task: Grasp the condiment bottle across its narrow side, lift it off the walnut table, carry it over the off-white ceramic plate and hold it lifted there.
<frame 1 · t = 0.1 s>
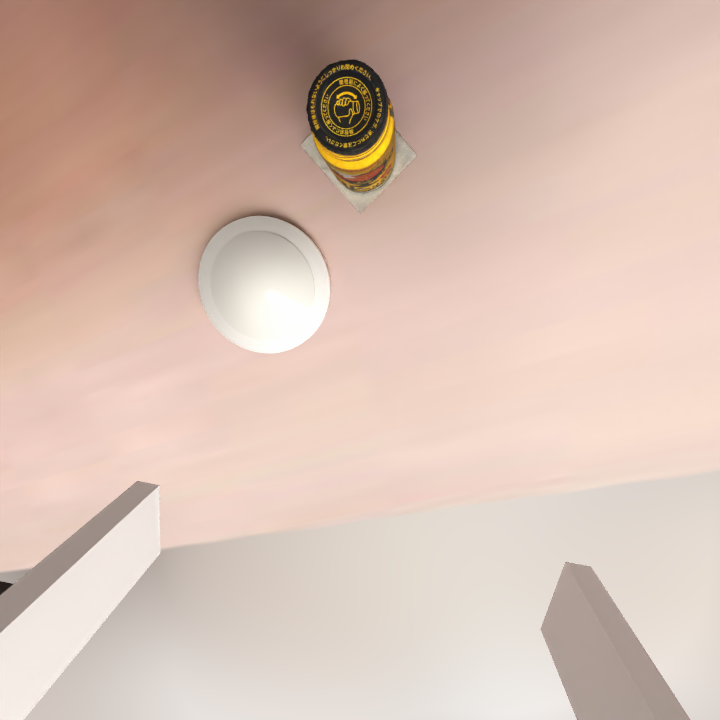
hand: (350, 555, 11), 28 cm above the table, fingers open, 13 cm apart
condiment: (358, 151, 34), on the table
plate: (266, 287, 38), on the table
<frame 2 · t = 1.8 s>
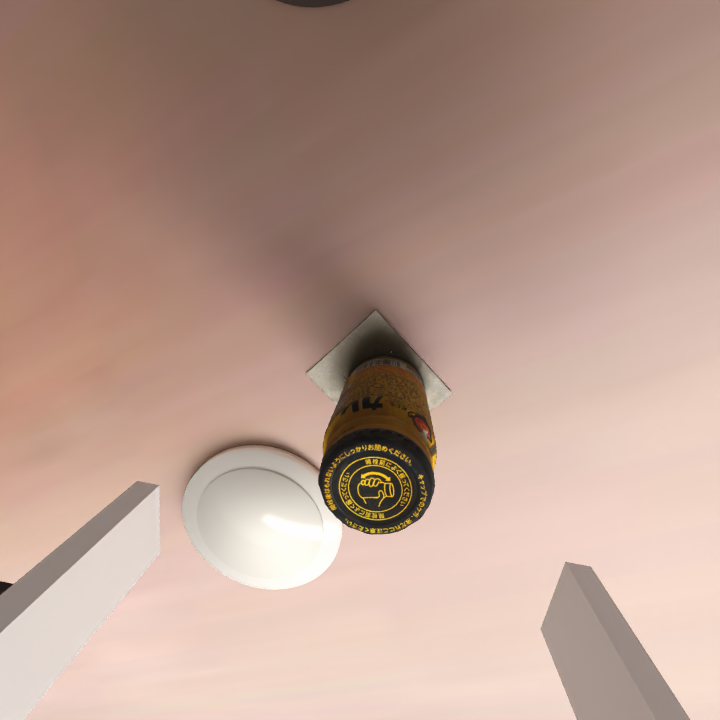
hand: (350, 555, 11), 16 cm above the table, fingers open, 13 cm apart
condiment: (378, 382, 27), on the table
plate: (264, 516, 31), on the table
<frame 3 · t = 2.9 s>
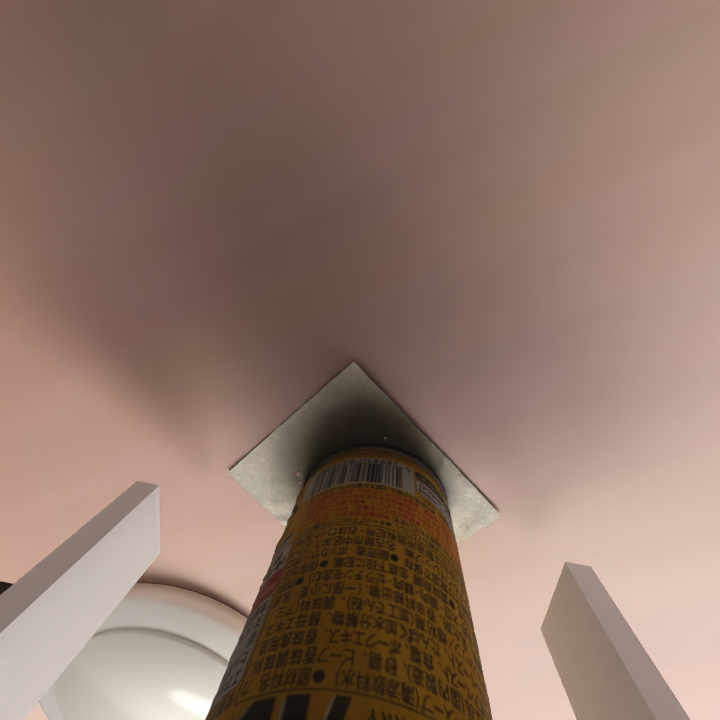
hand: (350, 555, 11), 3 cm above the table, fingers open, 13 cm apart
condiment: (361, 487, 15), on the table
plate: (175, 688, 19), on the table
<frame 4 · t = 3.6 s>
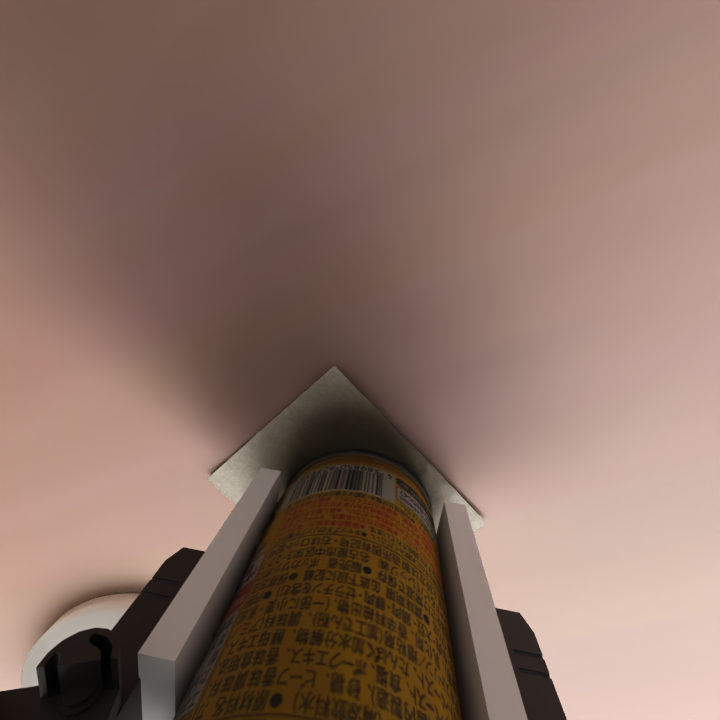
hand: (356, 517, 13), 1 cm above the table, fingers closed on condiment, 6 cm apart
condiment: (344, 494, 14), on the table, touching gripper
plate: (167, 701, 18), on the table
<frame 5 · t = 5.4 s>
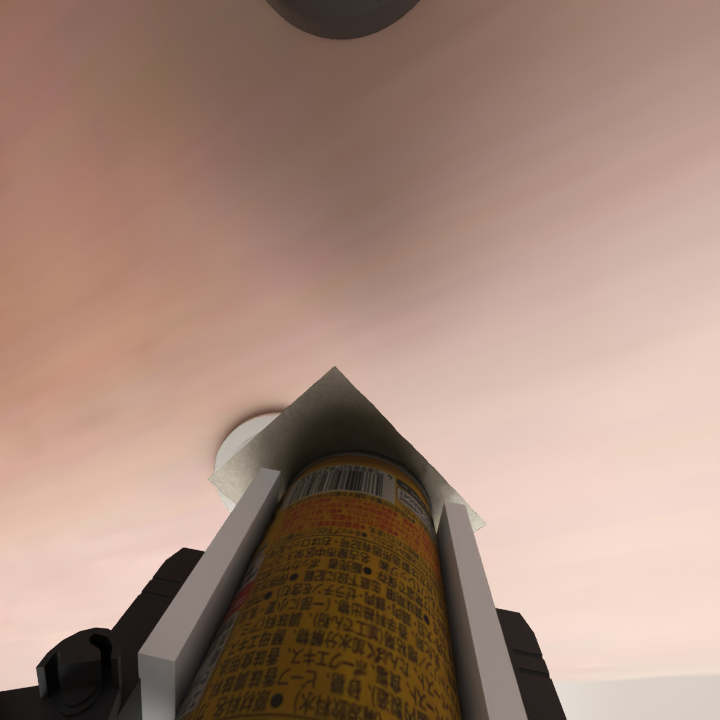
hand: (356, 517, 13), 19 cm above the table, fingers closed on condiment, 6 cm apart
condiment: (344, 494, 14), point 18 cm above the table, touching gripper
plate: (286, 476, 35), on the table
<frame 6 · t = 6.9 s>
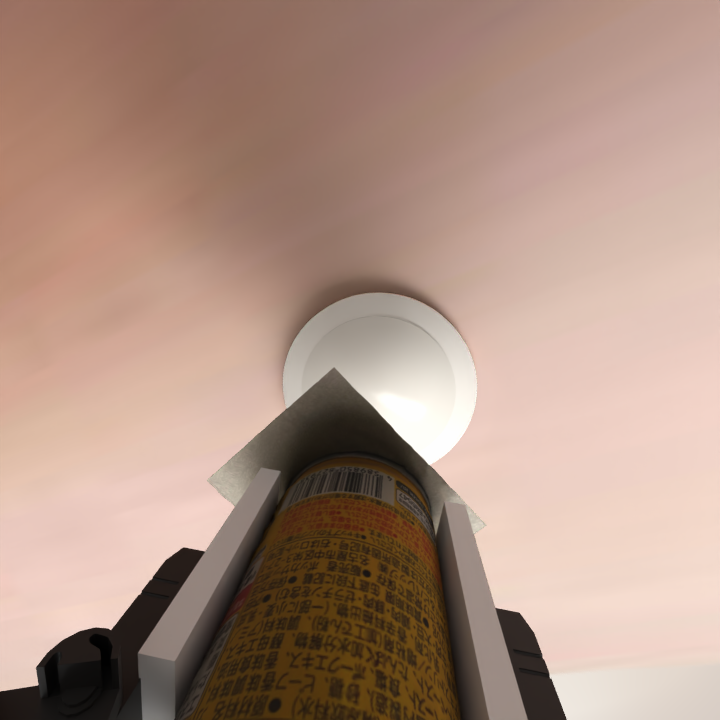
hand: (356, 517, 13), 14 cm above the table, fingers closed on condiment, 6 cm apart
condiment: (344, 495, 14), point 13 cm above the table, touching gripper
plate: (377, 387, 26), on the table
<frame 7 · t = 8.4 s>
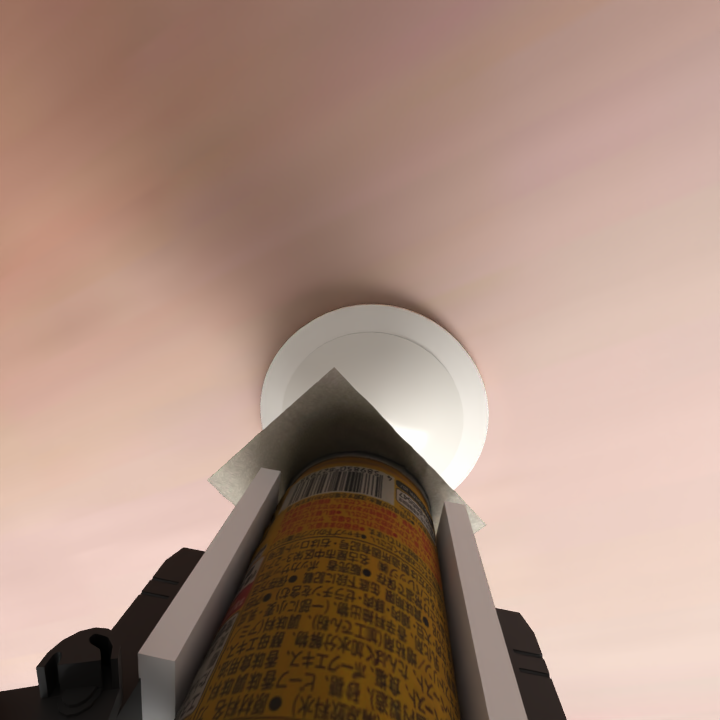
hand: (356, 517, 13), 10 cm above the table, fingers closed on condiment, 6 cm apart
condiment: (344, 495, 14), point 9 cm above the table, touching gripper
plate: (371, 413, 23), on the table
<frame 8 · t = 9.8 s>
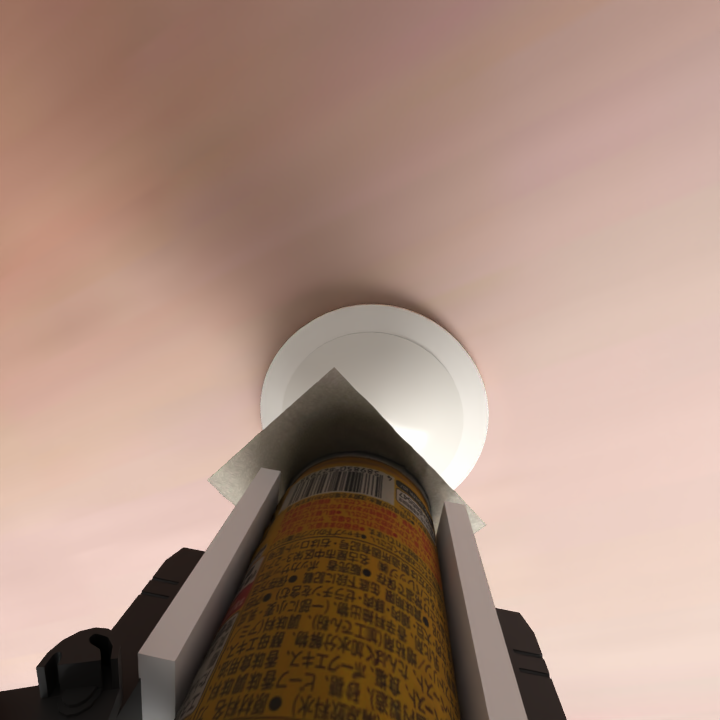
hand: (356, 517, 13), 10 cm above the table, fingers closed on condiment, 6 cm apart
condiment: (344, 495, 14), point 9 cm above the table, touching gripper
plate: (371, 413, 23), on the table
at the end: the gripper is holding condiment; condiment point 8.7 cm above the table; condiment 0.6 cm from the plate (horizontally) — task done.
